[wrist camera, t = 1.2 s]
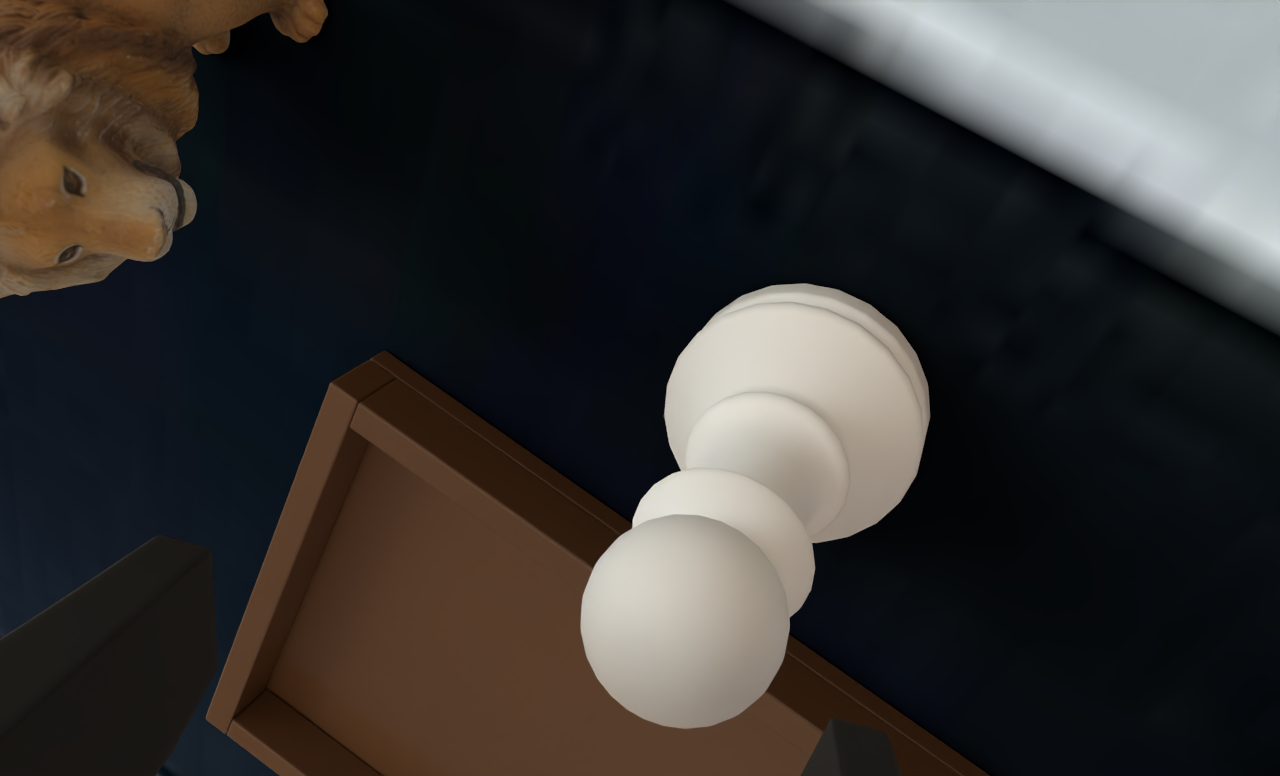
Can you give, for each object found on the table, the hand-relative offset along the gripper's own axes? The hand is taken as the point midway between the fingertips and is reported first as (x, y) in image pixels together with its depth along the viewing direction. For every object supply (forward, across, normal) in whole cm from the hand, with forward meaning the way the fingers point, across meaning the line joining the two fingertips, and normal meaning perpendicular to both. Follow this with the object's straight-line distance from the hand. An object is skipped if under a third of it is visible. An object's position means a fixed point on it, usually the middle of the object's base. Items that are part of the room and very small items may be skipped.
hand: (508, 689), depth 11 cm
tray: (+9, -1, +13) cm, 16 cm away
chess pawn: (+10, -4, +1) cm, 10 cm away
